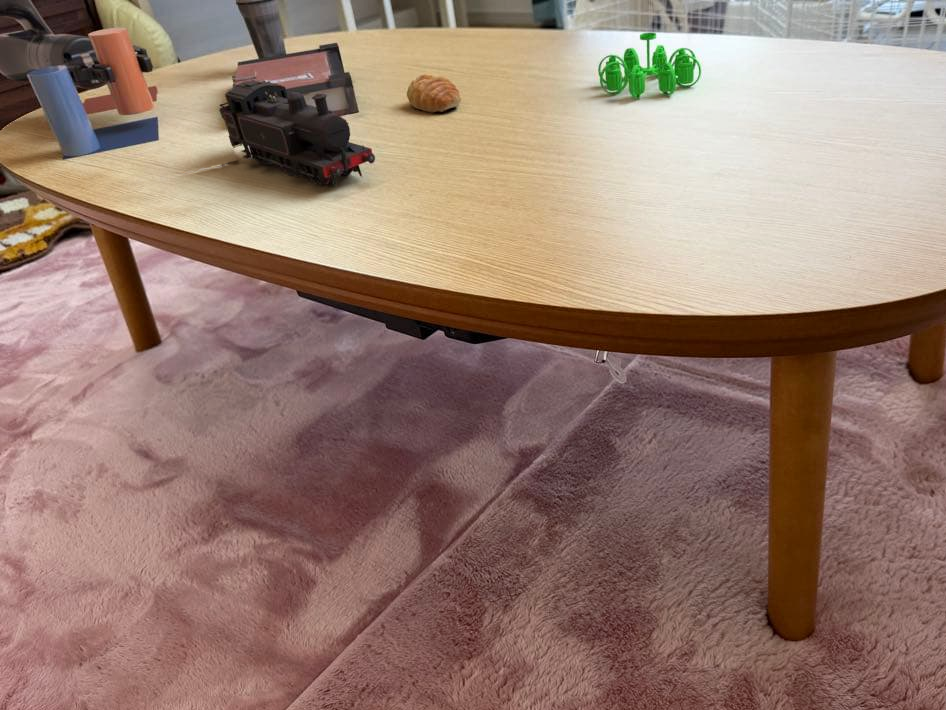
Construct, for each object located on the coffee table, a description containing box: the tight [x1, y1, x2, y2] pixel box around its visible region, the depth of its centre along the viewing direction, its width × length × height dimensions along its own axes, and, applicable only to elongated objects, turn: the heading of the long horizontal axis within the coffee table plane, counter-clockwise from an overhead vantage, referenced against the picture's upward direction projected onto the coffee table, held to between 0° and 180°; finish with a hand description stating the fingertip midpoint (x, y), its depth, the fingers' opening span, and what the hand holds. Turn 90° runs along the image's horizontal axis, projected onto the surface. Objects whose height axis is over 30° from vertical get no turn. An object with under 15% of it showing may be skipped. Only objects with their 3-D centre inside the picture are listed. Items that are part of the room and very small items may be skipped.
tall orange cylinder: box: [87, 26, 155, 116], centre depth 118 cm, size 5×5×11 cm
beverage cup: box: [235, 0, 287, 59], centre depth 142 cm, size 7×7×20 cm
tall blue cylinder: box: [27, 66, 100, 158], centre depth 112 cm, size 5×5×11 cm
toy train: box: [219, 80, 376, 188], centre depth 98 cm, size 8×25×10 cm, turn 45°
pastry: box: [406, 73, 462, 114], centre depth 116 cm, size 9×7×4 cm
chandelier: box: [597, 32, 702, 99], centre depth 113 cm, size 15×15×7 cm
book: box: [231, 42, 360, 116], centre depth 127 cm, size 26×18×5 cm
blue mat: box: [62, 116, 160, 161], centre depth 120 cm, size 13×14×1 cm
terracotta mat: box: [83, 85, 158, 115], centre depth 138 cm, size 12×12×1 cm
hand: (130, 69), depth 116 cm, fingers closed on tall orange cylinder, 5 cm apart
